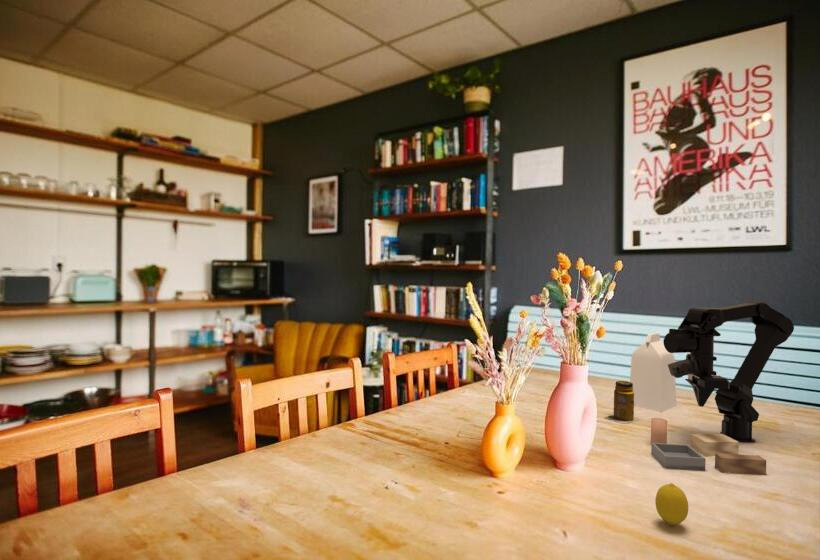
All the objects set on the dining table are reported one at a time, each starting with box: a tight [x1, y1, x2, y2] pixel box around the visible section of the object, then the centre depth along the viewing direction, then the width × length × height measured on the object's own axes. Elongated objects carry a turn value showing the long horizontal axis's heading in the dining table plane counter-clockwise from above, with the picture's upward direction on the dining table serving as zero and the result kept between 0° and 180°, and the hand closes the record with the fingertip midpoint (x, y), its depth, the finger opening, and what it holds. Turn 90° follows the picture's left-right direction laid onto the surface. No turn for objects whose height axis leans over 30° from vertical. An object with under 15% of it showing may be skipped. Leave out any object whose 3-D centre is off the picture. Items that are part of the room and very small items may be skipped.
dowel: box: [650, 417, 668, 444], centre depth 133 cm, size 4×4×7 cm
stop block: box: [714, 453, 767, 476], centre depth 116 cm, size 10×3×4 cm, turn 83°
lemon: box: [655, 482, 689, 526], centre depth 91 cm, size 6×6×8 cm
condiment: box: [604, 380, 640, 425], centre depth 156 cm, size 7×8×12 cm
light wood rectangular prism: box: [690, 433, 740, 457], centre depth 128 cm, size 9×6×4 cm, turn 92°
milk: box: [629, 332, 677, 413], centre depth 171 cm, size 12×12×26 cm
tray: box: [650, 442, 707, 472], centre depth 121 cm, size 9×9×3 cm
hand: (700, 406), depth 136 cm, fingers closed
